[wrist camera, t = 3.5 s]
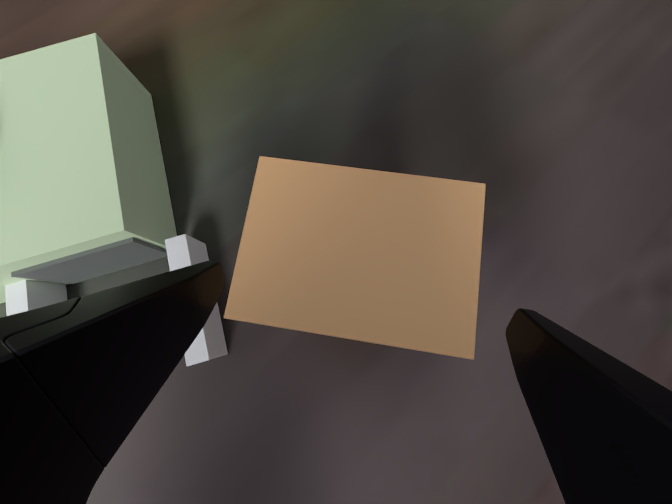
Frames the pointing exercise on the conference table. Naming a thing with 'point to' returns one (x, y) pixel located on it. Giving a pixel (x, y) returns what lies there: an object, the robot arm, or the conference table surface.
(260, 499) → the conference table surface
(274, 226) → the tan block
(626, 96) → the conference table surface
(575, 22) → the conference table surface
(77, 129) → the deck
